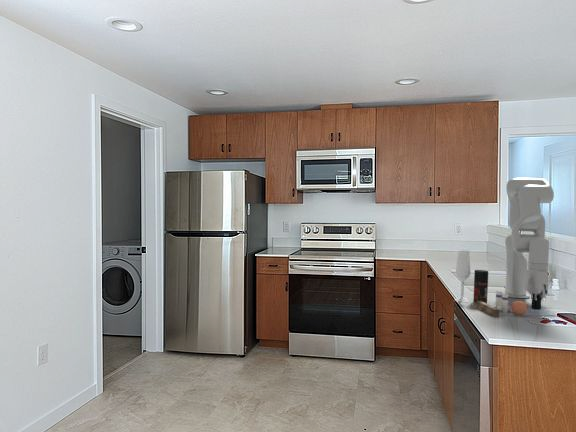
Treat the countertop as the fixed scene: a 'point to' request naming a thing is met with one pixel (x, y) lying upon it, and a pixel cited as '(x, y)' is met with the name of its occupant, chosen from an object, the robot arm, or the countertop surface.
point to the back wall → (488, 308)
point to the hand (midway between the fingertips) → (536, 309)
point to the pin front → (501, 307)
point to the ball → (519, 307)
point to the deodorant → (480, 286)
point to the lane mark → (530, 313)
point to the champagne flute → (463, 271)
